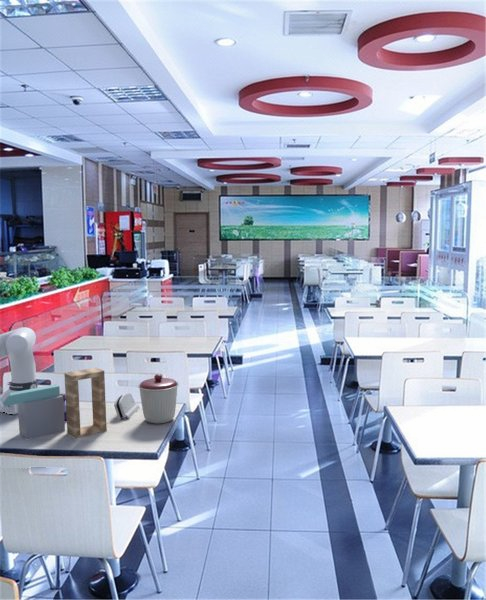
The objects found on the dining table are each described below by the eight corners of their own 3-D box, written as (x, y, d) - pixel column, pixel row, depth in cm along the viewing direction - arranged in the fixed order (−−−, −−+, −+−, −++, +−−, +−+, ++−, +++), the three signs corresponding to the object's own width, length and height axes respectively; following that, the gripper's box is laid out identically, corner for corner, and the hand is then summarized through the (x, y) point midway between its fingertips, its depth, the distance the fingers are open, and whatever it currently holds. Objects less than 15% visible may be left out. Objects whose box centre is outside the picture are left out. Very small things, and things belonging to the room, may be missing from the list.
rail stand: (75, 438, 226) (72, 376, 223) (67, 433, 232) (64, 372, 229) (106, 430, 235) (104, 370, 232) (98, 425, 241) (95, 367, 238)
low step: (26, 439, 225) (24, 404, 223) (19, 434, 232) (17, 399, 230) (65, 430, 235) (63, 396, 233) (56, 425, 242) (55, 392, 240)
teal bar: (0, 407, 220) (0, 397, 219) (-3, 404, 223) (-3, 395, 222) (59, 395, 235) (59, 386, 234) (56, 393, 238) (55, 384, 237)
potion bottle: (71, 416, 254) (70, 390, 253) (73, 421, 246) (72, 395, 245) (52, 418, 251) (50, 392, 250) (53, 424, 243) (52, 397, 242)
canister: (177, 426, 239) (176, 379, 236) (135, 427, 238) (134, 379, 236) (181, 413, 257) (180, 369, 254) (142, 413, 256) (141, 369, 254)
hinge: (129, 419, 249) (121, 399, 248) (119, 422, 249) (111, 402, 249) (140, 408, 265) (132, 389, 264) (131, 411, 266) (123, 392, 265)
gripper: (-29, 412, 224) (1, 390, 231) (-14, 425, 208) (17, 401, 215) (-38, 401, 221) (-8, 379, 228) (-24, 413, 206) (8, 389, 213)
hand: (5, 390), depth 222 cm, fingers open, 8 cm apart
